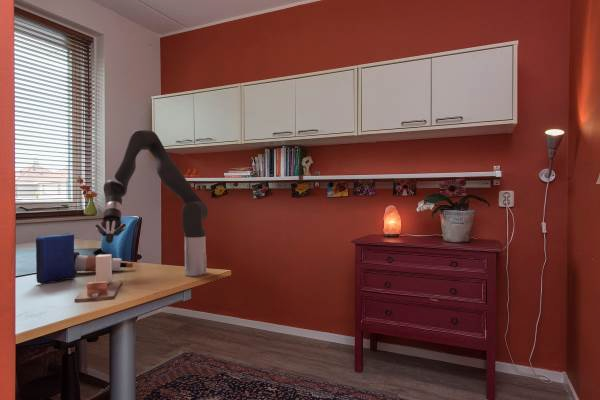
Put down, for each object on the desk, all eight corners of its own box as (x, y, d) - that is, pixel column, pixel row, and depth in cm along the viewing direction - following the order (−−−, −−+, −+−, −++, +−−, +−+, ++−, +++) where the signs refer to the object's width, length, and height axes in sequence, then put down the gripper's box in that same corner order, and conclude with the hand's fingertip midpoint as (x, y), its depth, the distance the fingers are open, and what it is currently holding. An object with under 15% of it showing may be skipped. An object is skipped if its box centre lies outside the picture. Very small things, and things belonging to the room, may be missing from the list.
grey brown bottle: (130, 280, 180) (131, 263, 176) (48, 278, 170) (47, 259, 166) (133, 267, 189) (134, 250, 185) (55, 264, 179) (54, 246, 174)
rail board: (121, 282, 156) (121, 270, 156) (113, 298, 132) (113, 284, 132) (89, 285, 152) (88, 272, 152) (74, 302, 128) (74, 287, 128)
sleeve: (111, 280, 154) (111, 254, 154) (110, 283, 149) (109, 256, 149) (98, 281, 152) (97, 254, 152) (96, 284, 147) (95, 256, 147)
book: (71, 277, 167) (70, 232, 166) (77, 278, 164) (77, 232, 164) (34, 284, 154) (34, 235, 154) (41, 285, 151) (40, 236, 151)
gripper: (95, 207, 172) (91, 237, 161) (127, 207, 177) (125, 236, 165) (97, 218, 177) (93, 248, 166) (128, 218, 182) (126, 246, 170)
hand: (109, 242), depth 166 cm, fingers closed
